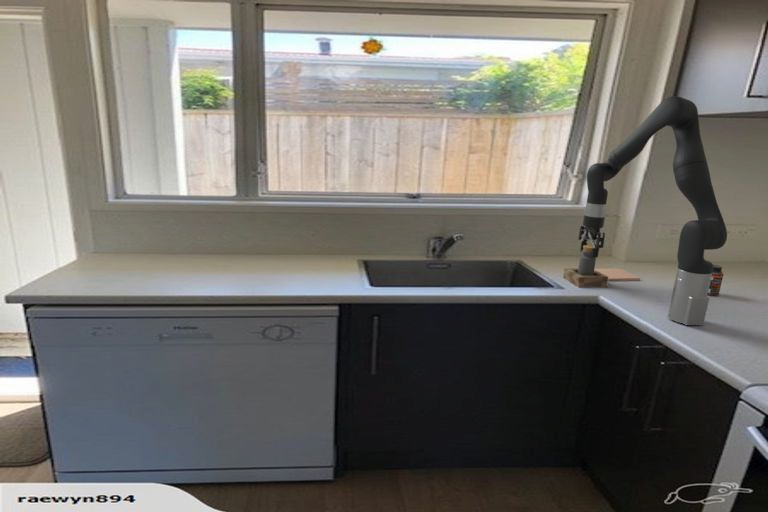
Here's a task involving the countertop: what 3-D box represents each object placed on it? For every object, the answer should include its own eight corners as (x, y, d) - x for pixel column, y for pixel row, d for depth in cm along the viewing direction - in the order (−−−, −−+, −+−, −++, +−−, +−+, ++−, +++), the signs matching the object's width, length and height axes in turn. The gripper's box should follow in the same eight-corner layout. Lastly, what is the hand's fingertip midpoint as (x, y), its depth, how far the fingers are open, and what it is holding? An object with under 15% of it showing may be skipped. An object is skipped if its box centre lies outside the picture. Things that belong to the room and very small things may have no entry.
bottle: (575, 282, 185) (581, 247, 181) (577, 279, 190) (582, 244, 186) (591, 285, 182) (597, 249, 178) (592, 281, 187) (598, 246, 183)
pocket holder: (606, 286, 181) (608, 277, 180) (578, 287, 180) (579, 277, 179) (590, 277, 193) (591, 268, 191) (563, 277, 191) (564, 268, 190)
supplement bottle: (710, 297, 172) (716, 268, 169) (696, 291, 178) (702, 264, 175) (722, 296, 174) (729, 267, 171) (708, 290, 179) (714, 263, 176)
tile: (639, 280, 190) (640, 278, 190) (608, 280, 188) (608, 278, 188) (619, 270, 203) (619, 268, 203) (589, 270, 202) (590, 268, 201)
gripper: (614, 218, 172) (607, 259, 177) (593, 211, 186) (587, 249, 190) (595, 218, 172) (589, 259, 176) (576, 211, 185) (570, 249, 190)
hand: (588, 254), depth 183 cm, fingers open, 8 cm apart
